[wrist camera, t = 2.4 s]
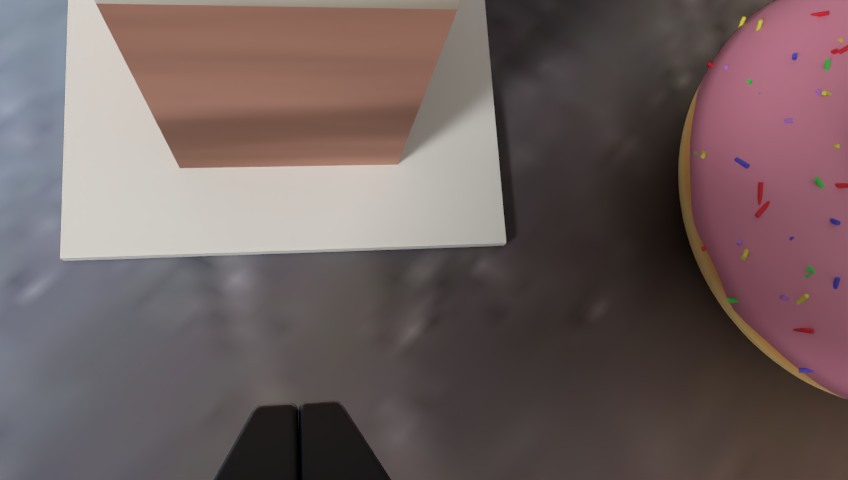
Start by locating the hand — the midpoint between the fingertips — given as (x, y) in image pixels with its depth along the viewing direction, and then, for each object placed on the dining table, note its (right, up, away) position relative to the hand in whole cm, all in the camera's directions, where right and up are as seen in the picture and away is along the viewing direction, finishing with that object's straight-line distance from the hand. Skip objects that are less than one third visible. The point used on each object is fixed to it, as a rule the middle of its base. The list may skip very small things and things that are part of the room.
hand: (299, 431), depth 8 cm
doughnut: (+12, +3, +13) cm, 18 cm away
